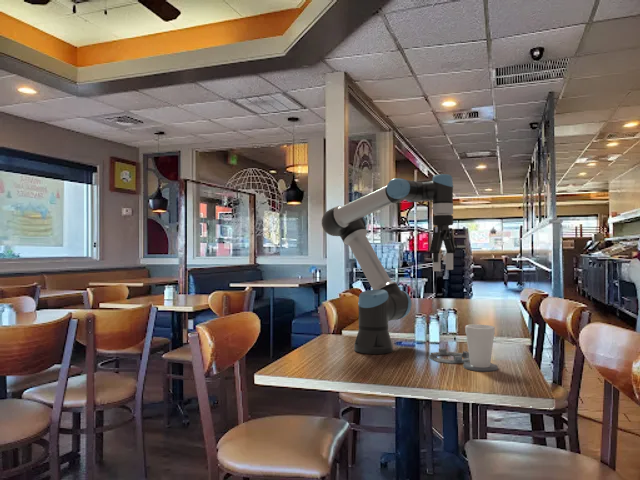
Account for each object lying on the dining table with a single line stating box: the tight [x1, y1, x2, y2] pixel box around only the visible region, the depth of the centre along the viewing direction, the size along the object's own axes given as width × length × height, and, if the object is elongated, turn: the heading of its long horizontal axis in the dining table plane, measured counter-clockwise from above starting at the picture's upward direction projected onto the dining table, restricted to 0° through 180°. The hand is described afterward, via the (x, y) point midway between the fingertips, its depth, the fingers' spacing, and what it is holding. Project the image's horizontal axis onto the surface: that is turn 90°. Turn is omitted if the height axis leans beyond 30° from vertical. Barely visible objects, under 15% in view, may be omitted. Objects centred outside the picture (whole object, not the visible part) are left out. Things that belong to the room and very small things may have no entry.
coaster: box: [462, 361, 499, 373], centre depth 164 cm, size 11×11×1 cm
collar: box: [428, 348, 470, 364], centre depth 178 cm, size 14×14×2 cm
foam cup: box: [464, 323, 496, 368], centre depth 165 cm, size 10×9×13 cm
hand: (443, 270), depth 187 cm, fingers open, 13 cm apart
